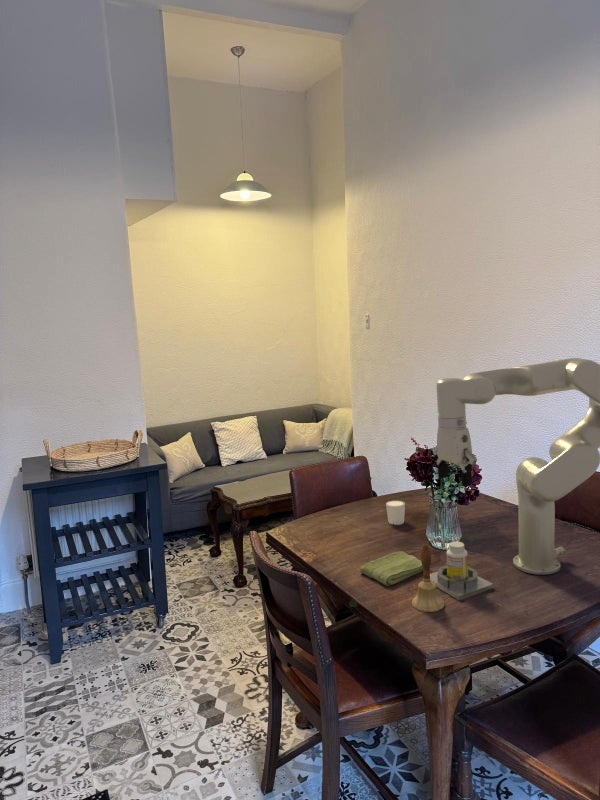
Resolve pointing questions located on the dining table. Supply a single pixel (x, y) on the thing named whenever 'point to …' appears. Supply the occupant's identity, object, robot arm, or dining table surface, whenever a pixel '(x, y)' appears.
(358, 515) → the dining table surface
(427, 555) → the hand bell
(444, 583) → the grey octagonal holder base
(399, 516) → the white tapered cup
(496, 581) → the dining table surface
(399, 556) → the washcloth
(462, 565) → the supplement bottle
